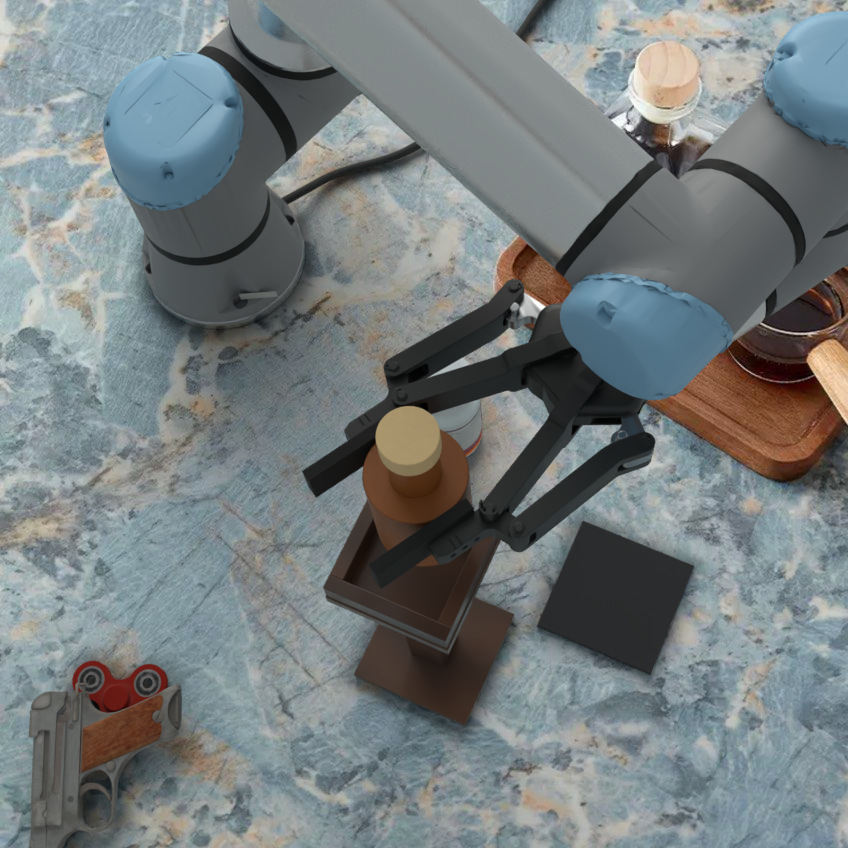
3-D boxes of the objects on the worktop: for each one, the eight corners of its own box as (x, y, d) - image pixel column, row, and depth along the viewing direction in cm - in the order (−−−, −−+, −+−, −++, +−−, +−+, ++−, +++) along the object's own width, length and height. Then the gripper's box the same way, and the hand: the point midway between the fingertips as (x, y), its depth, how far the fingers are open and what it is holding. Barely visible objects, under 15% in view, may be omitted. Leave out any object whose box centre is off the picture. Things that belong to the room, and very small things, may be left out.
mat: (582, 521, 112) (582, 520, 111) (693, 566, 109) (694, 565, 109) (537, 626, 108) (537, 625, 108) (650, 675, 106) (651, 674, 106)
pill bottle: (414, 401, 117) (404, 344, 107) (482, 400, 117) (479, 343, 106) (413, 465, 115) (403, 413, 104) (483, 464, 114) (479, 411, 104)
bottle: (402, 460, 82) (381, 367, 70) (489, 496, 81) (483, 407, 68) (360, 543, 80) (330, 462, 68) (448, 582, 79) (435, 506, 66)
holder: (406, 570, 111) (376, 461, 88) (514, 616, 109) (512, 516, 86) (355, 677, 108) (310, 592, 85) (465, 727, 105) (450, 654, 82)
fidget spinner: (118, 761, 106) (113, 760, 105) (50, 711, 108) (44, 709, 107) (177, 679, 108) (172, 676, 107) (109, 631, 110) (104, 628, 109)
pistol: (183, 681, 106) (37, 684, 107) (177, 681, 104) (28, 683, 104) (178, 923, 103) (26, 925, 103) (172, 928, 100) (17, 930, 101)
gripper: (762, 454, 77) (442, 682, 73) (566, 234, 84) (264, 430, 80) (786, 402, 70) (434, 650, 66) (570, 166, 77) (240, 378, 73)
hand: (342, 529), depth 73 cm, fingers closed on bottle, 6 cm apart
